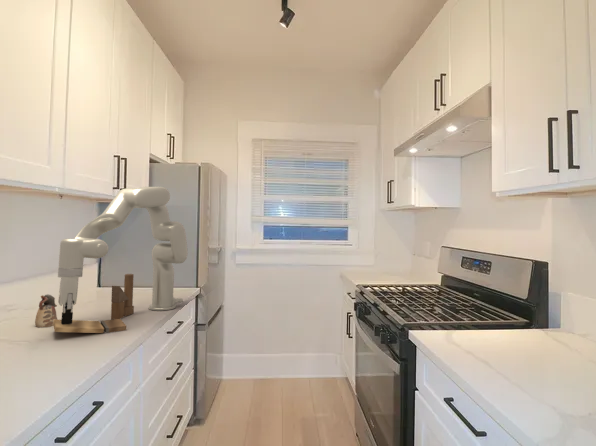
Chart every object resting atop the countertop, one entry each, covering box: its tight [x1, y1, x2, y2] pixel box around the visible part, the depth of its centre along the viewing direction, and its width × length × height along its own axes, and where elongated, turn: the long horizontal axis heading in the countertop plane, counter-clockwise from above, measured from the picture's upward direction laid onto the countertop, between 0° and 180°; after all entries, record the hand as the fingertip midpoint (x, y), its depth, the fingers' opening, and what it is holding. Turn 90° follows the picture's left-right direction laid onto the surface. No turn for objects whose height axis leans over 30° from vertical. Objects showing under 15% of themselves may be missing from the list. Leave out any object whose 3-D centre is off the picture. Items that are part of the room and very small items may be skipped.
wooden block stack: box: [110, 273, 135, 320], centre depth 152 cm, size 4×11×18 cm, turn 172°
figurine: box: [34, 293, 58, 328], centre depth 136 cm, size 7×7×12 cm
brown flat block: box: [99, 318, 127, 334], centre depth 135 cm, size 7×12×2 cm, turn 38°
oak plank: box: [52, 319, 105, 334], centre depth 128 cm, size 15×12×2 cm
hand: (66, 323), depth 125 cm, fingers closed
